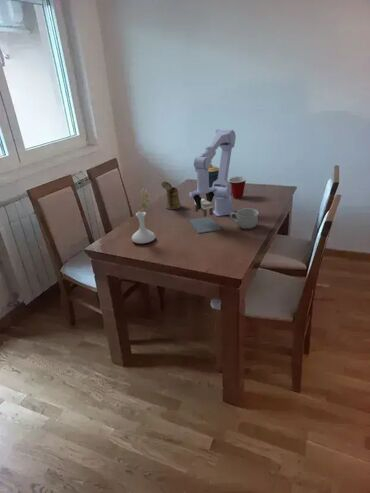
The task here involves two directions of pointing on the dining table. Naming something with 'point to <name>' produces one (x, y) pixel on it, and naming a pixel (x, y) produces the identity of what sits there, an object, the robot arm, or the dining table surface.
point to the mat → (204, 225)
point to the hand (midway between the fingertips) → (203, 207)
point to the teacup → (246, 218)
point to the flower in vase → (143, 233)
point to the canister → (213, 175)
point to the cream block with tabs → (205, 207)
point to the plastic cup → (237, 186)
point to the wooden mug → (171, 196)
